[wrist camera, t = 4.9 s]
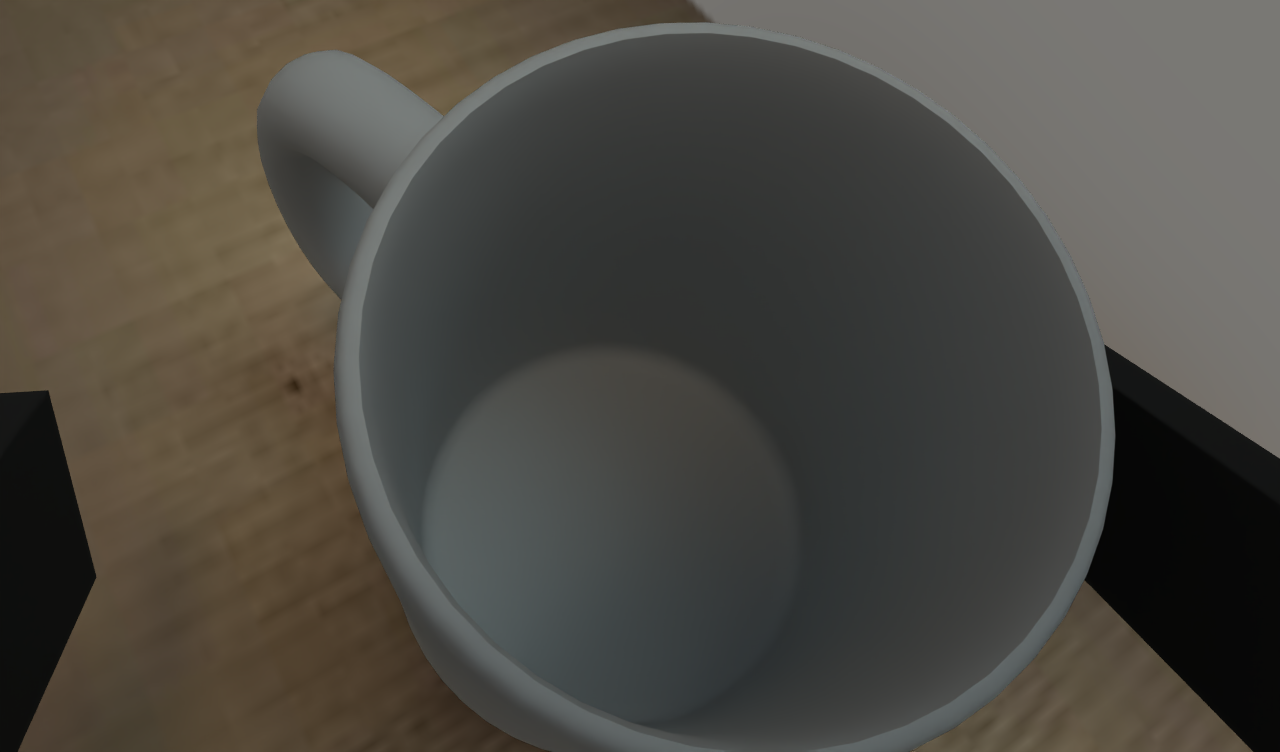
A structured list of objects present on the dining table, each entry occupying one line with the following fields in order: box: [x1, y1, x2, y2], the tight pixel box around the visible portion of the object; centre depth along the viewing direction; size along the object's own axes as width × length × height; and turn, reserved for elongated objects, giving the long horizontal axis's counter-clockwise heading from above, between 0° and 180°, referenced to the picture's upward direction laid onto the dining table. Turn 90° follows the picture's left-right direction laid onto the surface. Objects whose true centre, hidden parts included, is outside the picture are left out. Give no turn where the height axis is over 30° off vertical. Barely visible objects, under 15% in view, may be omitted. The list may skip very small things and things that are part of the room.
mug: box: [257, 23, 1115, 752], centre depth 15 cm, size 12×8×11 cm
